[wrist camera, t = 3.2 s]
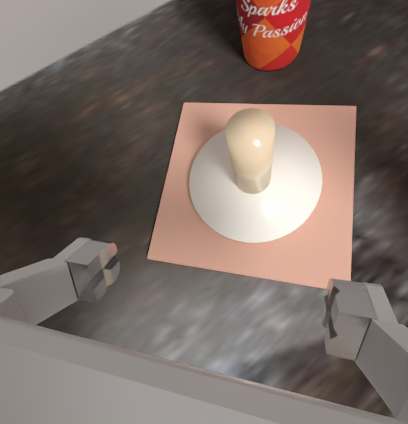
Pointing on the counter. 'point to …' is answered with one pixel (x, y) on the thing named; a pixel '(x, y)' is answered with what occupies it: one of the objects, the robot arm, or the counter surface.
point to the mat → (282, 248)
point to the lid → (255, 179)
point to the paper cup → (271, 31)
